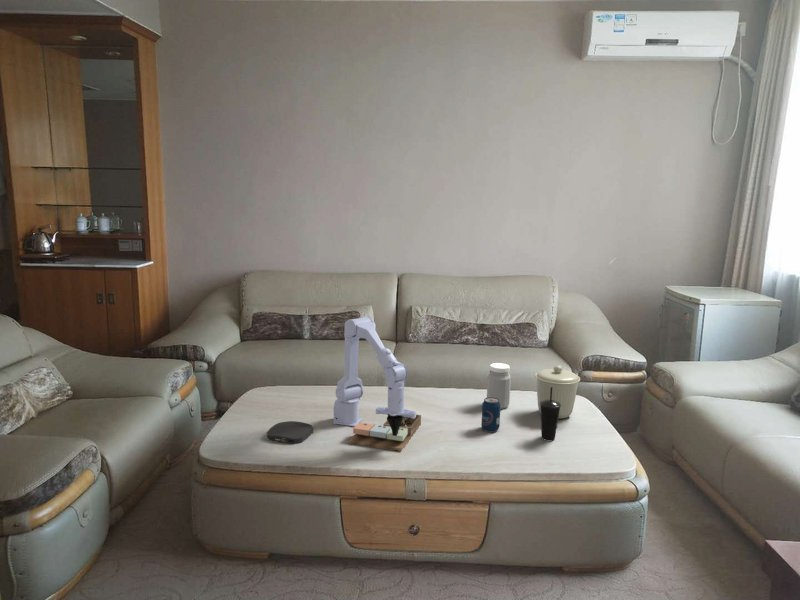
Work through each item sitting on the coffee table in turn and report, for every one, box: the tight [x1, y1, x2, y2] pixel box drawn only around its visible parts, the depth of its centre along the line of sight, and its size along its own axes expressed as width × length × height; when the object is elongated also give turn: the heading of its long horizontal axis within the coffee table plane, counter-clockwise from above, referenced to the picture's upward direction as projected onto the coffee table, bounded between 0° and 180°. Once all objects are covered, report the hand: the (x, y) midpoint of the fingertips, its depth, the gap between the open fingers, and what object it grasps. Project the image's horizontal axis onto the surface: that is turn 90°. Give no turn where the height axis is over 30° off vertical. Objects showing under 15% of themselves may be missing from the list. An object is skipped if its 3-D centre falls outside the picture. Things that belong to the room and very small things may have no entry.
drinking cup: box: [540, 387, 561, 441], centre depth 223 cm, size 8×8×20 cm
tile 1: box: [352, 421, 375, 436], centre depth 221 cm, size 6×6×2 cm
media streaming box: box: [266, 420, 314, 445], centre depth 224 cm, size 15×15×3 cm
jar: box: [486, 362, 512, 410], centre depth 256 cm, size 10×10×18 cm
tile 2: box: [370, 424, 391, 438], centre depth 219 cm, size 6×6×2 cm
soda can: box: [481, 397, 501, 433], centre depth 231 cm, size 7×7×12 cm
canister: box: [534, 365, 581, 420], centre depth 247 cm, size 18×18×21 cm
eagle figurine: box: [400, 417, 410, 427], centre depth 232 cm, size 8×7×9 cm
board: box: [348, 414, 422, 452], centre depth 226 cm, size 20×26×4 cm
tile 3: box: [387, 427, 408, 441], centre depth 217 cm, size 6×6×2 cm
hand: (395, 434), depth 215 cm, fingers closed, pressing on tile 3
